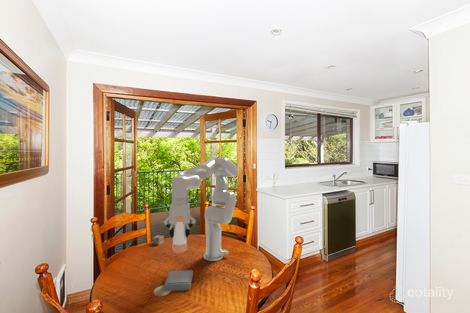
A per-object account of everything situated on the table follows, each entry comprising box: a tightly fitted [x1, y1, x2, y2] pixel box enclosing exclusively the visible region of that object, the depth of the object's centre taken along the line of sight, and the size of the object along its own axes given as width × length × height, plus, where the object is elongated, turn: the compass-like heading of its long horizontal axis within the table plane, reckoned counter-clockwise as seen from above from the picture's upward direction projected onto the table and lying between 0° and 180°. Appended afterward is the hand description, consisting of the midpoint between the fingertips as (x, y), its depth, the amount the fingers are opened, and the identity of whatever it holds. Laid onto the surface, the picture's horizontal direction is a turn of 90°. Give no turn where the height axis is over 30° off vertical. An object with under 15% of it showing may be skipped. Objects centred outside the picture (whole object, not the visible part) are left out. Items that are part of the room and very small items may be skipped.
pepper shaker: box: [171, 216, 188, 254], centre depth 109 cm, size 7×7×19 cm
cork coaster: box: [153, 284, 172, 297], centre depth 102 cm, size 8×8×1 cm
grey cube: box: [152, 234, 165, 246], centre depth 156 cm, size 5×5×5 cm
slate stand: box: [163, 269, 194, 292], centre depth 108 cm, size 12×12×3 cm
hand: (179, 236), depth 108 cm, fingers closed on pepper shaker, 6 cm apart
